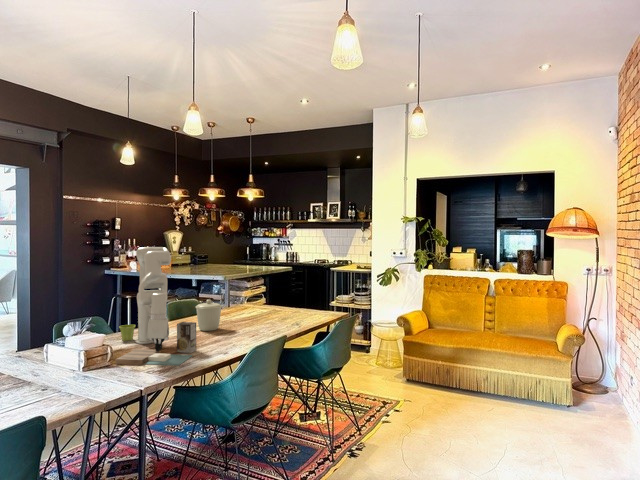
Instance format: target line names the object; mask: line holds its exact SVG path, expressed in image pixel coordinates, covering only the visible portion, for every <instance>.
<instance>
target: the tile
mask: <svg viewBox="0 0 640 480" xmlns="http://www.w3.org/2000/svg"><path fill="white" fill-rule="evenodd" d="M169 358H171V353H161V352H160V353H154V354H153V355H151V356H149V357H148V361H166V360H168V359H169Z"/></svg>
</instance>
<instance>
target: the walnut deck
mask: <svg viewBox="0 0 640 480" xmlns="http://www.w3.org/2000/svg"><path fill="white" fill-rule="evenodd" d="M154 353H161V350H160V351H156V349H149V348H148V349H147V348H135V349H133V350H131V351H129V352H126V353H125V354H123V355H121V356H118V357H117V358H115V365H134V366H135V365H136V366H142V365H145V363H147V362H148V357H149V356H151V355H153V354H154Z"/></svg>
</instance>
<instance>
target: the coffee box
mask: <svg viewBox="0 0 640 480" xmlns="http://www.w3.org/2000/svg"><path fill="white" fill-rule="evenodd" d="M196 351H197V322H196V321H195V322H193V321H181V322H179V323H176V352H177V353H187V354H189V353H190V354H192V353H194V352H196Z"/></svg>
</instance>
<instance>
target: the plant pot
mask: <svg viewBox="0 0 640 480" xmlns="http://www.w3.org/2000/svg"><path fill="white" fill-rule="evenodd" d="M118 328H119V331H120V335H121V339H122V341H123V342H127V341H132V340H133V339H134V335H135V334H134V332H135V328H136V324H124V325H119V326H118Z"/></svg>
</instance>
